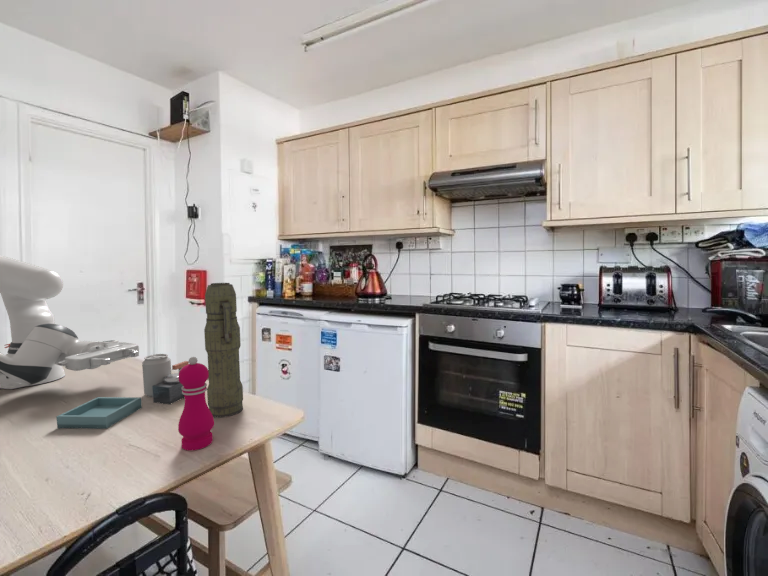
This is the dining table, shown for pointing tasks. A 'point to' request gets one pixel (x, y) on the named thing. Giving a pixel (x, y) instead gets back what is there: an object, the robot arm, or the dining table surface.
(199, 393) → the pepper mill
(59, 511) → the dining table surface
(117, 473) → the dining table surface
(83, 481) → the dining table surface
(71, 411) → the tray
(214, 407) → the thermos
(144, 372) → the can
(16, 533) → the dining table surface
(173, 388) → the crank housing
